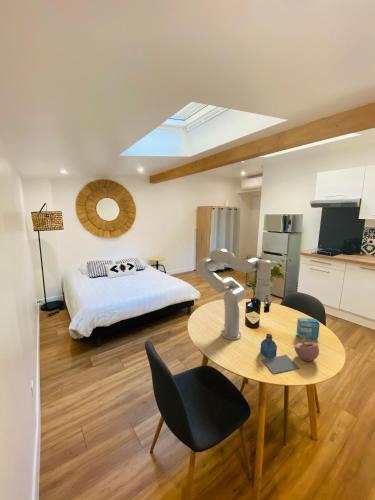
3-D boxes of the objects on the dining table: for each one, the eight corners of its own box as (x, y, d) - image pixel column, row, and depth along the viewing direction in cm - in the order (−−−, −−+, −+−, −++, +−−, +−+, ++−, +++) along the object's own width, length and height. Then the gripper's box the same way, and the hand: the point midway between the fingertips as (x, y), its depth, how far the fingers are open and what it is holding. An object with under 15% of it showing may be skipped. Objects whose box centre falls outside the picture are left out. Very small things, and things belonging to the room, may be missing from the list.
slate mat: (261, 360, 125) (261, 359, 125) (286, 355, 129) (286, 354, 129) (273, 374, 115) (273, 373, 115) (299, 368, 119) (299, 367, 118)
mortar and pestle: (302, 349, 134) (304, 332, 132) (322, 361, 124) (324, 342, 122) (289, 355, 129) (290, 337, 127) (308, 368, 118) (310, 349, 116)
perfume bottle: (260, 352, 132) (261, 333, 130) (268, 349, 135) (269, 331, 133) (267, 358, 127) (269, 339, 125) (276, 355, 129) (277, 336, 127)
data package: (298, 337, 146) (299, 320, 144) (296, 334, 151) (297, 317, 149) (318, 339, 145) (320, 322, 142) (315, 335, 149) (317, 318, 147)
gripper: (250, 277, 137) (249, 303, 141) (265, 286, 121) (263, 316, 124) (261, 276, 139) (260, 302, 142) (277, 285, 122) (276, 314, 125)
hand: (262, 308), depth 133 cm, fingers open, 9 cm apart
